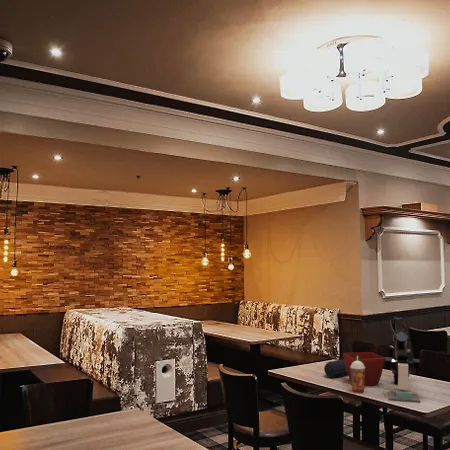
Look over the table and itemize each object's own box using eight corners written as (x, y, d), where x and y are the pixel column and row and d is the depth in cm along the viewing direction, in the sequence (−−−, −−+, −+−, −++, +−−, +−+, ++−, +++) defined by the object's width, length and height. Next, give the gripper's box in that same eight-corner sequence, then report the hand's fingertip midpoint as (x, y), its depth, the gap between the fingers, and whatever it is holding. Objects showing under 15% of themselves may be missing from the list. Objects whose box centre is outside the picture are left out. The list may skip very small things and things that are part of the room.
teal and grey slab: (388, 400, 263) (388, 392, 263) (387, 393, 277) (387, 386, 277) (420, 402, 259) (420, 394, 259) (417, 395, 272) (417, 388, 272)
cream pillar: (398, 389, 266) (398, 364, 266) (398, 386, 270) (397, 362, 271) (408, 390, 264) (408, 365, 265) (407, 387, 269) (407, 363, 270)
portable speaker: (345, 371, 332) (345, 356, 332) (358, 374, 324) (358, 358, 325) (321, 377, 316) (321, 361, 317) (333, 379, 308) (333, 363, 309)
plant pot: (355, 388, 288) (354, 358, 290) (342, 380, 307) (342, 352, 308) (385, 386, 291) (385, 358, 293) (371, 379, 310) (370, 352, 311)
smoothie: (348, 389, 285) (347, 354, 286) (362, 389, 285) (361, 354, 287) (353, 393, 276) (352, 357, 278) (367, 393, 277) (367, 357, 279)
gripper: (384, 342, 275) (385, 366, 264) (419, 344, 270) (422, 369, 259) (383, 354, 282) (385, 378, 271) (418, 356, 277) (421, 380, 266)
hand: (403, 376), depth 266 cm, fingers closed on cream pillar, 5 cm apart
